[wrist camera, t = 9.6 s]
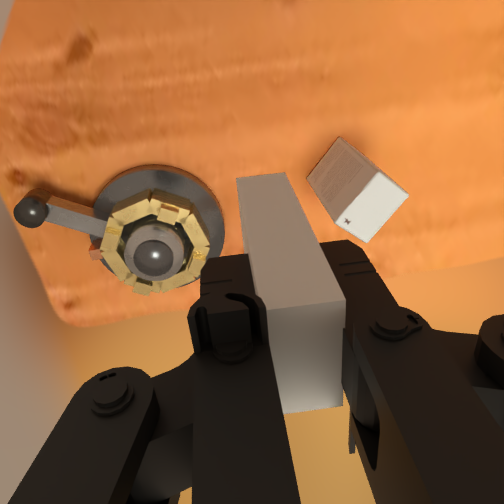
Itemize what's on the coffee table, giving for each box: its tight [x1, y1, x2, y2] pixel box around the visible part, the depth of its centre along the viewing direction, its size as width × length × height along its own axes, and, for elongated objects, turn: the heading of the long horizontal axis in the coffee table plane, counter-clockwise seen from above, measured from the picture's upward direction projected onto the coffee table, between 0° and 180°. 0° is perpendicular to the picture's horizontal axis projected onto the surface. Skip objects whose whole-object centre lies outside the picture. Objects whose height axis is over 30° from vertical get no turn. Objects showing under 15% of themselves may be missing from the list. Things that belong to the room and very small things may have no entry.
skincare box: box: [307, 137, 409, 243], centre depth 44 cm, size 6×4×12 cm
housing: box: [89, 165, 225, 288], centre depth 48 cm, size 15×15×8 cm
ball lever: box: [14, 188, 210, 296], centre depth 46 cm, size 19×11×4 cm, turn 67°
